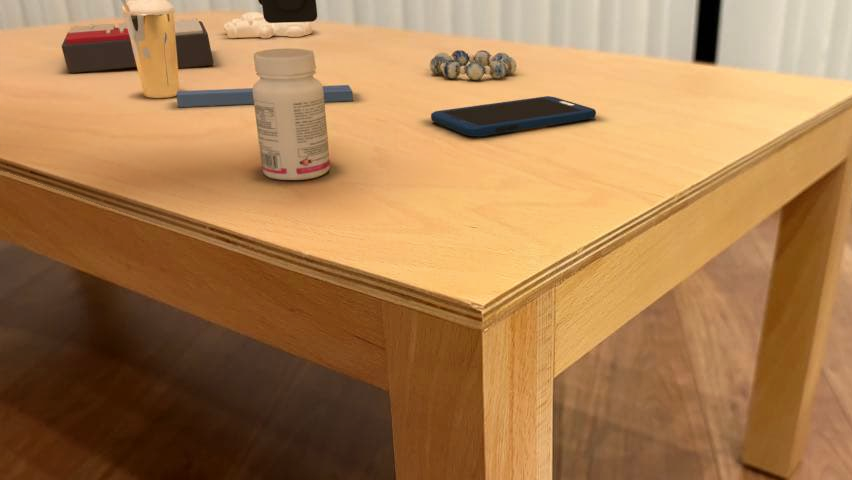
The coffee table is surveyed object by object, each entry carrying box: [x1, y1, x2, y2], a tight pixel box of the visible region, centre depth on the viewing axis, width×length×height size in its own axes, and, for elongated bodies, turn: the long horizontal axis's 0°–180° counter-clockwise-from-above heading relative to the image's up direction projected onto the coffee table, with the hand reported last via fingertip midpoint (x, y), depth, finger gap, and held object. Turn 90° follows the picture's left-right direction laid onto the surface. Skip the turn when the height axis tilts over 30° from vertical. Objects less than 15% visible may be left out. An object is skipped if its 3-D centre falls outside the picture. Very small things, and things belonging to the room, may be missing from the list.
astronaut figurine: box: [222, 11, 313, 39], centre depth 121 cm, size 9×12×3 cm
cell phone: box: [430, 95, 597, 137], centre depth 78 cm, size 7×14×1 cm, turn 127°
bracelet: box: [429, 49, 517, 81], centre depth 98 cm, size 10×10×2 cm
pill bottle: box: [252, 48, 331, 181], centre depth 60 cm, size 5×5×8 cm
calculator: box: [61, 18, 214, 74], centre depth 99 cm, size 11×4×15 cm
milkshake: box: [120, 0, 181, 99], centre depth 82 cm, size 4×5×10 cm
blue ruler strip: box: [175, 84, 354, 108], centre depth 83 cm, size 16×3×1 cm, turn 108°
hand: (286, 12), depth 57 cm, fingers open, 9 cm apart
